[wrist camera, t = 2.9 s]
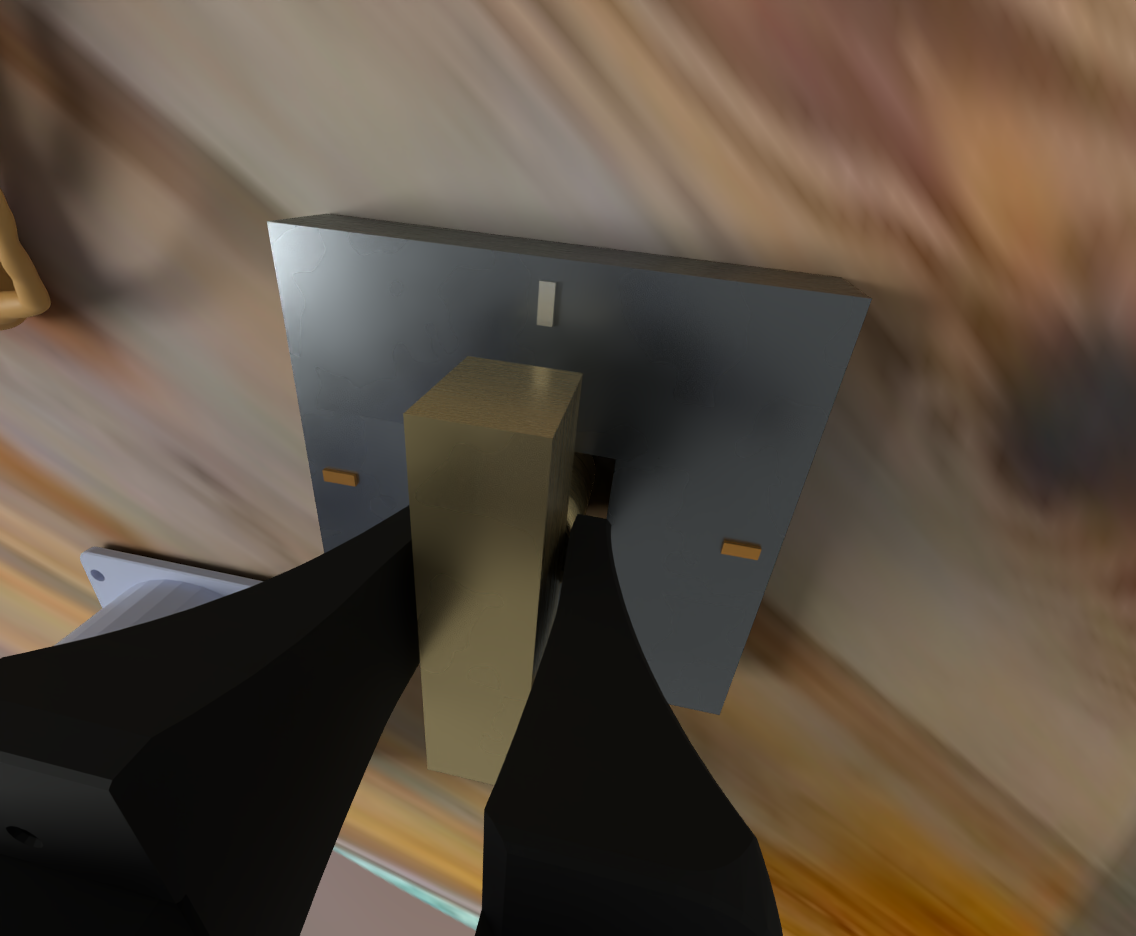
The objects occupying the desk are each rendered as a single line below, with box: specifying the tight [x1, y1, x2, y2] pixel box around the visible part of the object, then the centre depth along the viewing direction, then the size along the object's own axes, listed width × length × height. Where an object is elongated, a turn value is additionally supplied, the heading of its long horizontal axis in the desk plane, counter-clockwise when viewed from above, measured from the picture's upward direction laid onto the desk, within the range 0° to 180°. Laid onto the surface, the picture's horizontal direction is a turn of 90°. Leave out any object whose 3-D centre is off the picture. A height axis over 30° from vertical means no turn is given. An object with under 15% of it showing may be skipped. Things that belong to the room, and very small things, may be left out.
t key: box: [403, 356, 596, 785], centre depth 12 cm, size 8×2×6 cm, turn 175°
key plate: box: [267, 214, 872, 715], centre depth 13 cm, size 11×11×2 cm
